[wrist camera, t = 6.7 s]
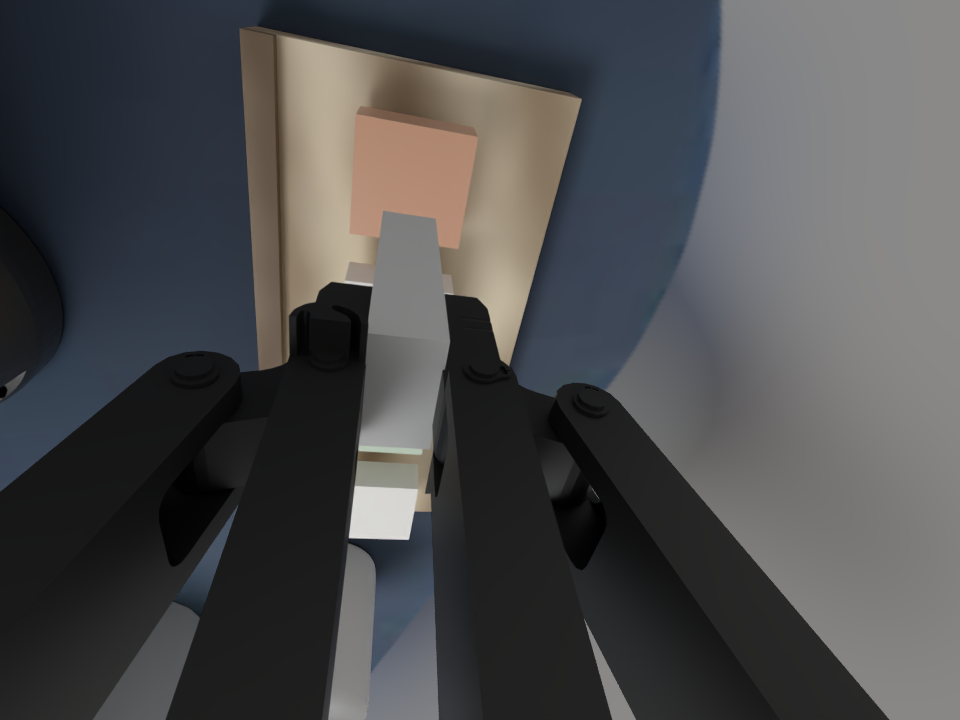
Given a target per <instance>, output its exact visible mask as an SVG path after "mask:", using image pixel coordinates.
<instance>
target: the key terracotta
mask: <svg viewBox="0 0 960 720" xmlns="http://www.w3.org/2000/svg"><path fill="white" fill-rule="evenodd" d="M477 142H478V135H477V133H476V131H475V129H474V127H469V126H464V125H459V124H453V123H448V122H443V121H438V120H433V119H427V118H422V117H417V116H412V115H406V114H401V113H396V112H391V111H385V110H380V109H375V108H370V107H364V106H360V107H359V109H358V111H357V113H356V119H355V138H354V157H353V176H352V195H351V214H350V233H349V234H356V235H363V236H370V237H377V238H379V237H380V229H381V222H382V215H383V211H388V212H395V213H402V214H408V215H415V216H422V217H428V218H435V219H436V225H437V234H438V242H439V246H440V247H447V248H454V249H458V248H459V243H460V237H461V231H462V226H463V220H464V215H465V209H466V203H467V198H468V192H469V186H470V181H471V175H472V170H473V164H474V158H475V153H476V147H477Z"/></svg>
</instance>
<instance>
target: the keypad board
mask: <svg viewBox="0 0 960 720" xmlns="http://www.w3.org/2000/svg"><path fill="white" fill-rule="evenodd" d="M239 30H240V48H241V65H242V82H243V99H244V117H245V134H246V151H247V169H248V186H249V203H250V221H251V238H252V255H253V273H254V290H255V307H256V325H257V342H258V359H259V370H265V369H271V368H274V367H277V366H280V365H283V364H285V363H287V362H288V359H289V315H290V314H291V312H292V311H293V310H294V309H295V308H297V307H299V306H302V305H304V304H307V303H312V302H316V299H317V296H318V293H319V290H321V289H322V288H323V287H325V286H326V285H328V284H329V283H330V282H338V283H345V277H346V274H347V270H348V266H349V262H357V263H365V264H372V265H376V259H377V251H378V244H379V238H377V237H370V236H363V235H356V234H349V233H350V214H351V195H352V176H353V157H354V138H355V119H356V113H357V111H358V109H359V107H360V106H364V107H370V108H375V109H380V110H385V111H391V112H396V113H401V114H406V115H412V116H417V117H422V118H427V119H433V120H438V121H443V122H448V123H453V124H459V125H464V126H469V127H474V129H475V131H476V133H477V135H478V142H477V147H476V153H475V158H474V164H473V170H472V175H471V181H470V186H469V192H468V198H467V203H466V209H465V215H464V220H463V226H462V231H461V237H460V243H459V248H458V249H454V248H447V247H440V246H439V251H440V259H441V268H442V274H448V275H451V277H452V284H453V292H454V295H459V296H467V297H475V298H478V299H479V300H480V301H481V302H482V303H483V304H484V305H485V307H486V308H487V309H488V312H489V316H490V322H491V324H492V328H493V332H494V336H495V340H496V344H497V348H498V352H499V356H500V360H501V361H503V362H504V363H506V364H507V365H508V366H509V364H510V361H511V357H512V353H513V350H514V346H515V342H516V339H517V335H518V331H519V328H520V324H521V320H522V317H523V313H524V309H525V306H526V302H527V298H528V295H529V291H530V287H531V284H532V280H533V276H534V273H535V269H536V265H537V262H538V258H539V254H540V251H541V247H542V244H543V240H544V236H545V233H546V229H547V225H548V222H549V218H550V214H551V211H552V207H553V203H554V200H555V196H556V192H557V189H558V185H559V181H560V178H561V174H562V170H563V167H564V163H565V159H566V156H567V152H568V148H569V145H570V141H571V137H572V134H573V130H574V126H575V123H576V119H577V115H578V112H579V108H580V104H581V101H582V99H581V98H579V97H577V96H575V95H573V94H572V93H568V92H564V91H559V90H554V89H550V88H545V87H540V86H535V85H531V84H526V83H521V82H517V81H512V80H507V79H503V78H498V77H493V76H488V75H484V74H479V73H474V72H470V71H465V70H460V69H455V68H451V67H446V66H441V65H437V64H432V63H427V62H422V61H418V60H413V59H408V58H404V57H399V56H394V55H390V54H385V53H380V52H375V51H371V50H366V49H361V48H357V47H352V46H347V45H342V44H338V43H333V42H328V41H324V40H319V39H314V38H310V37H305V36H300V35H295V34H291V33H286V32H281V31H277V30H272V29H267V28H262V27H258V26H255V27H247V28H239ZM432 454H433V435H432V441H431V446H430V450H429V449H423V450H422V455H415V454H399V453H383V452H367V451H358V460H357V461H370V462H387V463H404V464H418V493H417V499H416V504H415V509H414V511H423V512H431V493H430V494H425V490H426V485H427V480H428V475H429V469H430V464H431V459H432Z"/></svg>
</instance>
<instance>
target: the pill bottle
mask: <svg viewBox="0 0 960 720" xmlns="http://www.w3.org/2000/svg"><path fill="white" fill-rule="evenodd" d="M375 584H376V570H375V565H374V562H373V560H372V558H371V557H370V556H369V554H368V553H366V552H365V551H364V550H363V549H361V548H359V547H357V546H355V545H352V544H349V543H348V550H347V559H346V568H345V576H344V585H343V594H342V603H341V612H340V621H339V629H338V638H337V647H336V656H335V665H334V674H333V683H332V691H331V700H330V709H329V718H328V720H365V718H366V714H367V712H368V703H369V687H370V670H371V653H372V635H373V618H374V601H375Z"/></svg>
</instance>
